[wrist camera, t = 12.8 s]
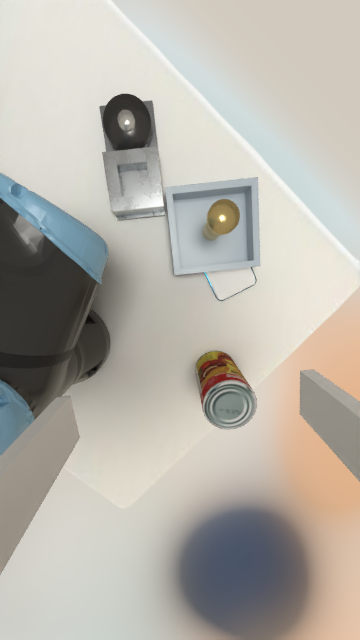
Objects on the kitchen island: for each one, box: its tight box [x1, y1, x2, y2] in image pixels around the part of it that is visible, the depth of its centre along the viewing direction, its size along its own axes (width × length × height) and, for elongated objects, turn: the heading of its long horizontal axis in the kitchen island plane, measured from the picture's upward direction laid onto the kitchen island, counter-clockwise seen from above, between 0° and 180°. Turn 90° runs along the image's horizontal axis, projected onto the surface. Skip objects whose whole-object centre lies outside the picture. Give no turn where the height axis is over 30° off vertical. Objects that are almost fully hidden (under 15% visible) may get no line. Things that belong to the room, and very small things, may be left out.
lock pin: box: [202, 199, 240, 241], centre depth 32 cm, size 4×4×10 cm
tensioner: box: [100, 94, 165, 220], centre depth 33 cm, size 16×8×4 cm, turn 6°
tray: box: [165, 177, 260, 275], centre depth 36 cm, size 14×13×4 cm
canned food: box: [195, 351, 257, 429], centre depth 37 cm, size 8×8×12 cm
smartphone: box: [204, 267, 256, 301], centre depth 38 cm, size 8×1×16 cm
